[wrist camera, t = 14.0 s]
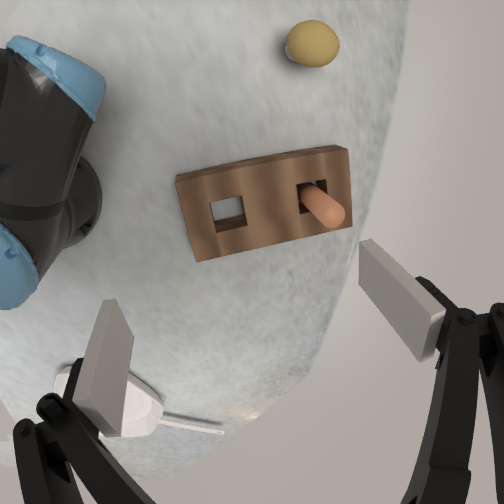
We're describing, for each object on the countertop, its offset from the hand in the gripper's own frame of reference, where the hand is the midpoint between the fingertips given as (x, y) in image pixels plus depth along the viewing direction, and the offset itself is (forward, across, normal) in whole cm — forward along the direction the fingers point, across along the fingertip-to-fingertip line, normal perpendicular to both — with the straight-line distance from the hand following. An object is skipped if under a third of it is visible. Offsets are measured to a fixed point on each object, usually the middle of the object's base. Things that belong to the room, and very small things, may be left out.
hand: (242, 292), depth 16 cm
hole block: (+32, +7, -6) cm, 33 cm away
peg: (+32, +13, -6) cm, 35 cm away
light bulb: (+32, +15, +15) cm, 38 cm away
